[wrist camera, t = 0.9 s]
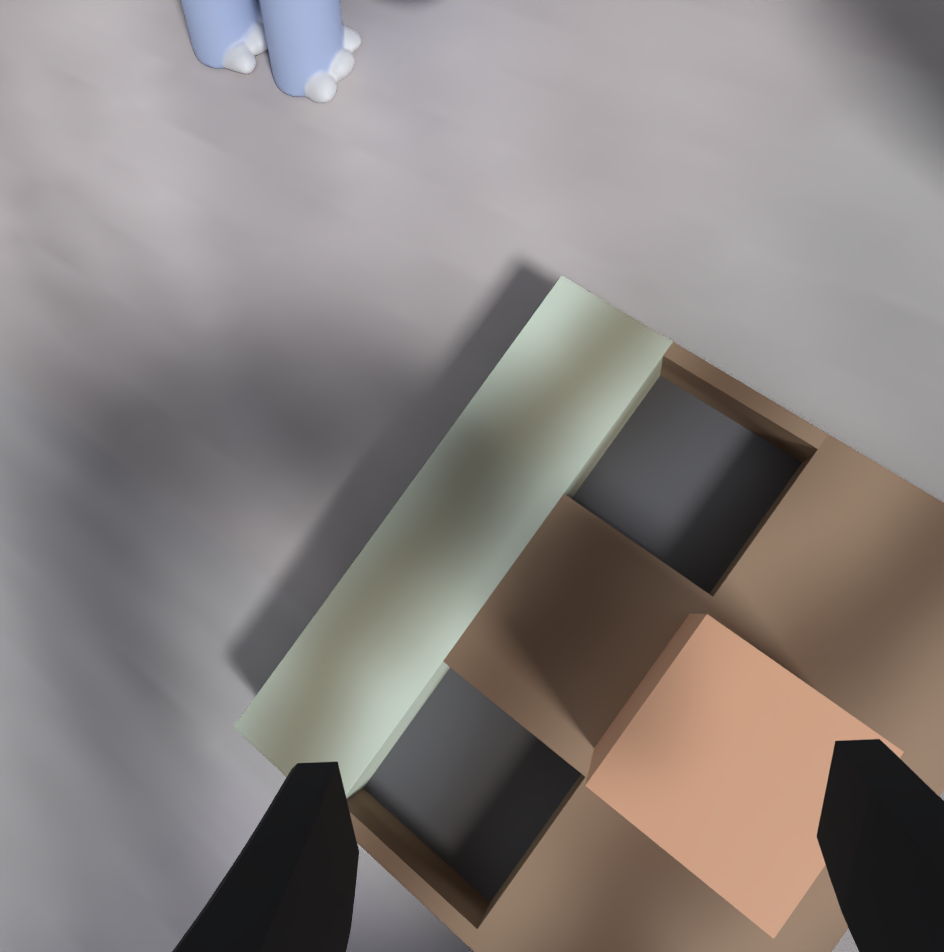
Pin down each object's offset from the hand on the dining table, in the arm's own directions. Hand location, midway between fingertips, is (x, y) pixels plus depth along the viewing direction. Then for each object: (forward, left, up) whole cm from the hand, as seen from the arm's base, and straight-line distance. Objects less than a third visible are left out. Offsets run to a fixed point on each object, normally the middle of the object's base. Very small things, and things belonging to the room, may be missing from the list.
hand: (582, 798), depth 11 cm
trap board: (0, -1, -12) cm, 12 cm away
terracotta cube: (-3, -1, -10) cm, 10 cm away
